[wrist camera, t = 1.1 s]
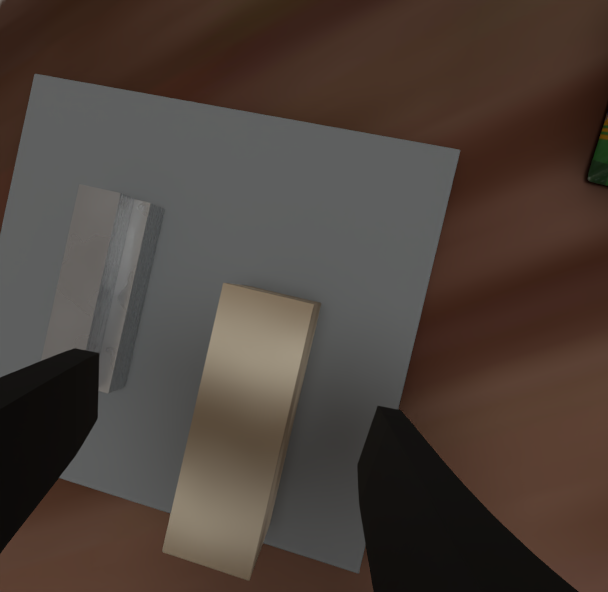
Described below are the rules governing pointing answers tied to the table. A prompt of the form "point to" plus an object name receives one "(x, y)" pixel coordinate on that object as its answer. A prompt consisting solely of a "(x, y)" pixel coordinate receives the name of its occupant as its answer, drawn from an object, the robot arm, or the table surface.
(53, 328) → the fulcrum
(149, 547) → the table surface
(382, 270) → the mat
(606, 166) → the chalk box
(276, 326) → the beam
